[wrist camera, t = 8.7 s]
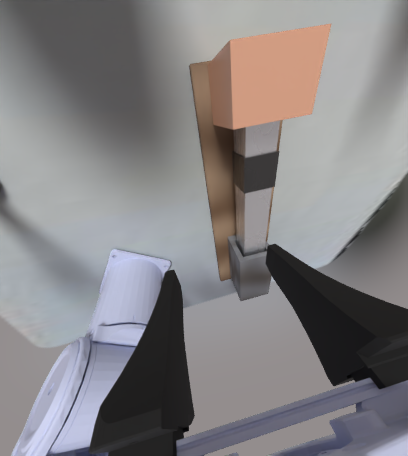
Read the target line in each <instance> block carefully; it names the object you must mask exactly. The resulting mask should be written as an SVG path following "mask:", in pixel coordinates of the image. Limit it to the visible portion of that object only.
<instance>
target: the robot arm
mask: <svg viewBox="0 0 408 456" xmlns="http://www.w3.org/2000/svg"><path fill="white" fill-rule="evenodd" d="M113 255H115V256H113ZM265 264H266V266H267V268H268V270H269V272H270V274H271V275H272V277H273V278H274V280H275V281H276V283H277V284H278V286H279V287H280V289H281V290H282V292H283V293H284V294H285V296H286V298H287V299H288V301H289V302H290V304H291V305H292V307H293V309H294V310H295V312H296V314H297V316H298V318H299V319H300V321H301V323H302V325H303V327H304V329H305V331H306V333H307V334H308V337H309V339H310V341H311V342H312V345H313V347H314V349H315V351H316V353H317V355H318V357H319V359H320V361H321V364H322V365H323V368H324V370H325V372H326V375H327V377H328V379H329V380H330V382H331V383H332V385H333V386H336V385H339V384H343V383H345V382H349V381H352V380H355V383H351V384H348V385H346V386H342V387H339V388H337V389H333V390H330V391H327V392H324V393H321V394H318V395H315V396H312V397H309V398H306V399H303V400H299V401H297V402H294V403H291V404H287V405H284V406H281V407H278V408H275V409H273V410H269V411H266V412H263V413H260V414H257V415H254V416H251V417H248V418H244V419H241V420H238V421H235V422H232V423H229V424H226V425H223V426H220V427H217V428H214V429H211V430H208V431H205V432H202V433H199V434H196V435H192V436H190V437H187V438H184V435H183V432H187V431H189V425H191V423H192V421H193V418H194V409H193V403H192V396H191V389H190V382H189V375H188V367H187V359H186V351H185V342H184V330H183V329H184V328H183V299H182V291H181V285H180V283H179V280H178V278H177V275H176V273H175V271H174V270H170V271H167V270H168V268H169V267H170V265H171V262H170V261H169V260H164V259H160V258H155V257H150V256H145V255H141V254H136V253H131V252H126V251H122V250H117V249H114V250H112V251H111V253H110V257H109V260H108V264H107V267H106V270H105V274H104V277H103V280H102V284H101V287H100V290H99V294H100V297H99V299H98V302H97V305H96V308H95V311H94V313H93V316H92V319H91V322H90V325H89V327H88V330H87V333H86V336H85V337H79V338H78V339H76V340H75V341H74V342H73V343H71V344H70V345H68V346H67V347H66V348H65V349H64V350H63V352H62V353H61V355H60V356H59V357H58V359H57V361H56V362H55V364H54V365H53V367H52V369H51V371H50V372H49V375H48V376H47V378H46V380H45V382H44V384H43V386H42V388H41V390H40V392H39V394H38V396H37V398H36V401H35V403H34V405H33V408H32V410H31V412H30V415H29V417H28V420H27V423H26V425H25V428H24V430H23V432H22V434H21V436H20V438H19V440H18V442H17V444H16V446H15V448H14V450H13V452H12V454H11V456H204V455H205V454H208V453H211V452H214V451H217V450H219V449H223V448H226V447H229V446H232V445H234V444H238V443H240V442H244V441H246V440H249V439H252V438H255V437H258V436H261V435H264V434H267V433H270V432H273V431H276V430H279V429H282V428H285V427H288V426H291V425H294V424H297V423H300V422H303V421H306V420H309V419H312V418H315V417H317V416H320V415H323V414H326V413H329V412H333V411H335V410H338V409H341V408H344V407H347V406H350V405H353V404H356V403H357V404H356V412H354V413H350V414H346V415H343V416H340V417H338V418H335V419H333V420H330V425H331V426H332V428H333V430H334V432H335V434H332V435H329V436H326V437H322V438H319V439H316V440H312V441H309V442H306V443H303V444H299V445H296V446H293V447H290V448H287V449H284V450H281V451H278V452H275V453H273V454H270V455H267V456H408V309H406V308H403V307H400V306H397V305H394V304H391V303H388V302H385V301H383V300H380V299H378V298H375V297H372V296H370V295H367V294H365V293H362V292H360V291H358V290H355V289H353V288H351V287H349V286H346V285H344V284H342V283H340V282H338V281H336V280H334V279H332V278H330V277H328V276H326V275H324V274H322V273H320V272H318V271H317V270H315V269H314V268H312V267H310V266H308V265H307V264H305V263H304V262H302V261H300V260H299V259H297V258H296V257H294V256H293V255H291V254H290V253H288V252H287V251H285V250H284V249H282V248H281V247H279V246H278V245H276V244H273V245H269V246H268V247H267V255H266V262H265ZM166 265H167V266H166ZM163 277H164V278H163ZM162 279H163V282H162V286H161V281H162ZM226 456H238V453H232V454H229V455H226Z"/></svg>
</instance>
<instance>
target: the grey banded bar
mask: <svg viewBox="0 0 408 456" xmlns="http://www.w3.org/2000/svg"><path fill="white" fill-rule="evenodd" d="M279 125H280V120H279V121H274V122H269V123H264V124H259V125H254V126H249V127H244V128H239V129H234V151H232V163H233V183H234V184H235V196H236V229H237V247H238V249H239V251H240V252H241V254H242V256H243V257H246V256H250V255H254V254H258V253H262V252H264V251H265V243H266V234H267V226H268V217H269V209H270V201H271V192H272V187H275V180H276V172H277V164H278V157H279V151H277V142H278V134H279Z"/></svg>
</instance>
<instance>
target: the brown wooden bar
mask: <svg viewBox="0 0 408 456" xmlns="http://www.w3.org/2000/svg"><path fill="white" fill-rule="evenodd" d="M210 62H211V61H207V62H201V63H195V64H190V66H189V67H190V74H191V81H192V88H193V95H194V102H195V109H196V116H197V123H198V130H199V136H200V143H201V150H202V157H203V164H204V171H205V178H206V185H207V192H208V199H209V206H210V212H211V219H212V226H213V233H214V240H215V247H216V254H217V261H218V268H219V275H220V280H221V281H224V280H228V279H231V278H232V281H233V283H234V286H235V288H236V291H237V293H238V296H239V298H240V300H241V301H243V300H247V299H250V298H254V297H258V296H261V295H265V294H268V292H269V286H270V281H271V274H270V272H269V270H268V268H267V266H266V264H265V262H266V255H267V247H268V246H269V244H268V243H267V238H268V230H269V222H270V214H271V207H272V199H273V191H274V187H272V192H271V201H270V209H269V217H268V226H267V234H266V243H265V251H264V252H262V253H258V254H254V255H250V256H246V257H243V256H242V254H241V252H240V251H239V249H238V247H237V229H236V196H235V184H234V183H233V163H232V151H234V130H232V129H228V128H224V127H220V126H216V125H213V116H212V105H211V94H210V84H209V73H208V64H209V63H210ZM281 128H282V120H280V125H279V134H278V142H277V151H279V143H280V136H281Z"/></svg>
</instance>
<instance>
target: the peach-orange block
mask: <svg viewBox="0 0 408 456" xmlns="http://www.w3.org/2000/svg"><path fill="white" fill-rule="evenodd" d="M330 27H331V24H326V25H320V26H314V27H308V28H301V29H295V30H289V31H283V32H277V33H270V34H264V35H258V36H252V37H245V38H239V39H233V40H230V41H229V42H228V43H227V44H226V45H225V46H224V47H223V49H222V50H221V51H220V52H219V53H218V54H217V55H216V56H215V58H214V59H213V60H212V61H211V62H210V63H209V64H208V73H209V84H210V94H211V105H212V116H213V125H216V126H220V127H224V128H228V129H232V130H234V129H239V128H244V127H249V126H254V125H259V124H264V123H269V122H274V121H279V120H284V119H289V118H294V117H299V116H304V115H309V114H312V111H313V106H314V101H315V97H316V92H317V87H318V83H319V78H320V74H321V69H322V64H323V60H324V55H325V50H326V46H327V41H328V37H329V32H330Z"/></svg>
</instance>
